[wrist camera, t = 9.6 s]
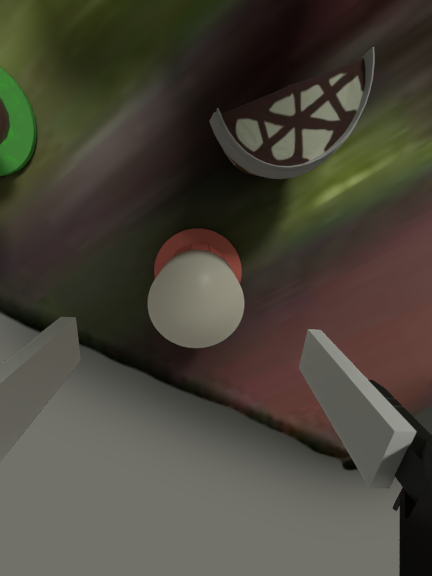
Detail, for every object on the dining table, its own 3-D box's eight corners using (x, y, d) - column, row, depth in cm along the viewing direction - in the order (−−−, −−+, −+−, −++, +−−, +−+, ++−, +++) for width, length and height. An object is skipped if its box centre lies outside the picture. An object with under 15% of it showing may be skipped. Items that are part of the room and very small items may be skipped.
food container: (224, 202, 28) (236, 199, 18) (207, 146, 26) (210, 110, 17) (325, 165, 27) (390, 142, 18) (314, 105, 25) (382, 43, 16)
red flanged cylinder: (155, 224, 28) (141, 229, 22) (245, 231, 29) (258, 238, 23) (155, 308, 32) (142, 334, 25) (235, 313, 33) (244, 339, 26)
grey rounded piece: (161, 243, 25) (146, 255, 18) (237, 248, 25) (249, 262, 19) (161, 312, 27) (148, 346, 20) (230, 316, 28) (238, 349, 21)
